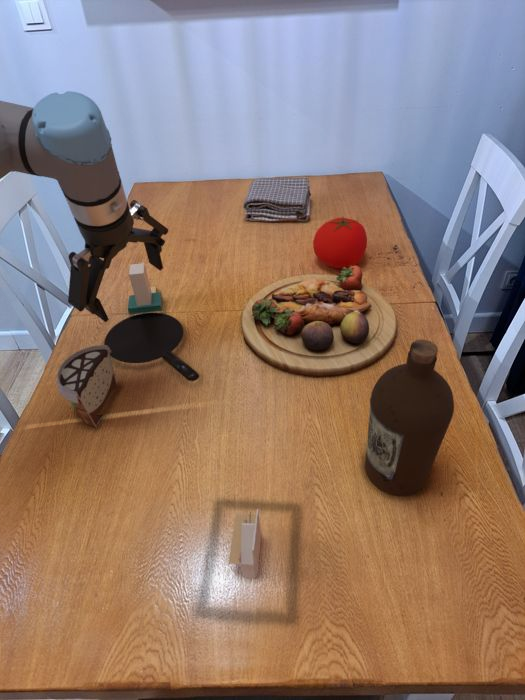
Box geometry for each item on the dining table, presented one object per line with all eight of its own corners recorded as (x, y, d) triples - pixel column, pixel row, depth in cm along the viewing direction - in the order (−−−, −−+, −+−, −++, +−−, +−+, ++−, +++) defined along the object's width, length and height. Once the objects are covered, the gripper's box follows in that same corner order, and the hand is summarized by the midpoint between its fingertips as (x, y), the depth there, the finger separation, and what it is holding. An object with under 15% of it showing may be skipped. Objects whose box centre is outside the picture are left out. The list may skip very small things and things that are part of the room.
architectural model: (230, 577, 64) (225, 550, 59) (237, 527, 69) (233, 498, 64) (256, 579, 64) (253, 552, 59) (261, 529, 69) (259, 500, 64)
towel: (251, 200, 149) (250, 174, 143) (312, 201, 146) (312, 175, 141) (243, 223, 137) (241, 197, 132) (309, 225, 135) (309, 198, 130)
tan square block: (157, 303, 111) (155, 296, 109) (139, 305, 110) (137, 298, 109) (157, 293, 114) (155, 286, 112) (140, 295, 113) (138, 288, 112)
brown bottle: (402, 433, 80) (431, 311, 64) (446, 483, 73) (491, 360, 56) (347, 457, 77) (361, 335, 60) (387, 512, 70) (416, 390, 53)
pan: (91, 342, 101) (88, 333, 100) (156, 308, 109) (154, 300, 107) (161, 408, 87) (159, 399, 85) (230, 364, 94) (229, 354, 93)
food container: (92, 379, 93) (76, 339, 86) (122, 383, 92) (108, 343, 85) (59, 430, 84) (39, 389, 77) (92, 435, 83) (74, 394, 76)
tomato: (374, 258, 121) (379, 217, 113) (345, 282, 113) (349, 240, 106) (333, 244, 127) (336, 204, 119) (303, 266, 119) (304, 225, 112)
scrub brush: (163, 316, 107) (153, 273, 100) (130, 319, 106) (118, 277, 99) (163, 302, 111) (154, 260, 103) (132, 306, 110) (120, 264, 103)
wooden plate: (325, 266, 119) (326, 236, 113) (429, 331, 99) (437, 298, 93) (212, 317, 106) (208, 285, 100) (307, 404, 86) (308, 370, 80)
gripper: (49, 281, 61) (93, 352, 81) (181, 168, 71) (192, 256, 90) (8, 250, 63) (61, 327, 82) (143, 144, 72) (162, 235, 91)
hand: (129, 290), depth 86 cm, fingers open, 13 cm apart
